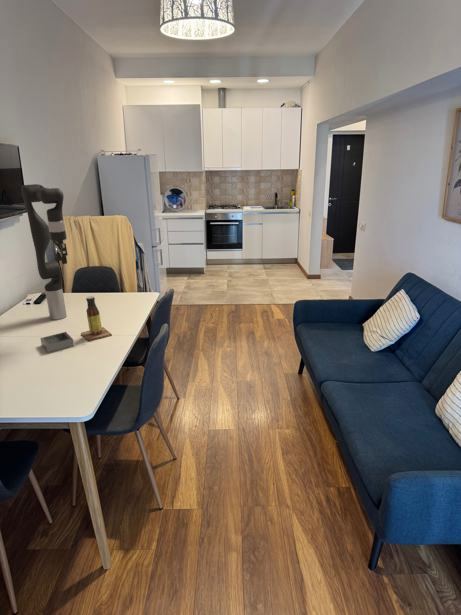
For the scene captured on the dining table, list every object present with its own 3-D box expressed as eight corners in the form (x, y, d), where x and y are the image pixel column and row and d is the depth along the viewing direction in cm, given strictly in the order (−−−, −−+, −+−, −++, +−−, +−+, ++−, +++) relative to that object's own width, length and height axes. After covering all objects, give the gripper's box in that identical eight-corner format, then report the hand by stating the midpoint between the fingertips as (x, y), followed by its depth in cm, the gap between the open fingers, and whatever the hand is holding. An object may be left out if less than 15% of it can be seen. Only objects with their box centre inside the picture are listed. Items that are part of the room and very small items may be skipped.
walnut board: (81, 334, 218) (81, 332, 218) (103, 328, 225) (103, 327, 224) (89, 341, 209) (88, 339, 209) (111, 335, 216) (111, 333, 215)
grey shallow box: (41, 345, 206) (40, 338, 204) (67, 338, 213) (65, 331, 211) (47, 353, 197) (46, 345, 196) (73, 346, 204) (72, 338, 203)
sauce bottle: (104, 331, 218) (100, 296, 212) (97, 336, 213) (92, 299, 206) (94, 330, 220) (89, 295, 214) (87, 334, 215) (81, 298, 208)
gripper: (45, 229, 207) (50, 261, 213) (53, 232, 196) (58, 266, 202) (60, 227, 211) (65, 258, 217) (69, 231, 201) (74, 263, 206)
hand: (62, 262), depth 209 cm, fingers open, 8 cm apart
